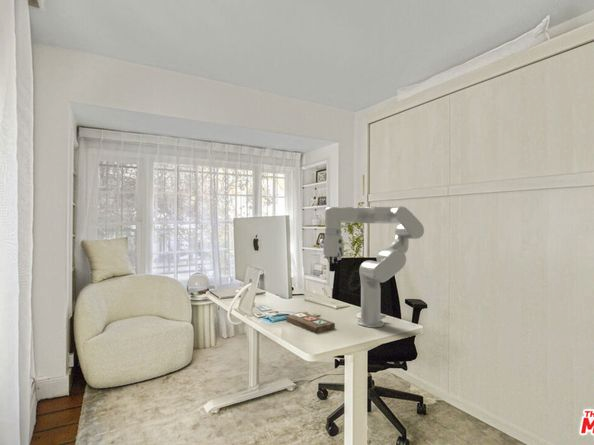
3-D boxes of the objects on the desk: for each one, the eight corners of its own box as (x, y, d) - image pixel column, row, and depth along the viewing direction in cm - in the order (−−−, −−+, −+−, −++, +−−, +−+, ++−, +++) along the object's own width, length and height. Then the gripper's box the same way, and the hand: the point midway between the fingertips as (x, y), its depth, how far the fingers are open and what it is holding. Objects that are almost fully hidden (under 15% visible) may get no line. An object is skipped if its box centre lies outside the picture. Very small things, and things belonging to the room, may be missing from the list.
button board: (305, 317, 175) (305, 312, 175) (334, 328, 156) (334, 323, 156) (286, 321, 168) (286, 316, 168) (315, 333, 149) (315, 327, 149)
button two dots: (310, 322, 165) (310, 316, 165) (316, 324, 161) (316, 318, 161) (302, 324, 162) (302, 317, 162) (308, 326, 158) (309, 320, 158)
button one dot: (301, 319, 171) (301, 313, 171) (307, 321, 167) (307, 315, 167) (293, 320, 168) (293, 314, 168) (299, 322, 164) (299, 316, 164)
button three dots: (320, 326, 159) (320, 319, 159) (327, 328, 155) (327, 322, 155) (312, 328, 156) (312, 321, 156) (319, 330, 152) (319, 323, 152)
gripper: (349, 233, 154) (349, 272, 154) (328, 232, 166) (328, 269, 166) (338, 233, 150) (338, 273, 150) (317, 232, 162) (316, 270, 162)
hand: (332, 271), depth 158 cm, fingers closed
